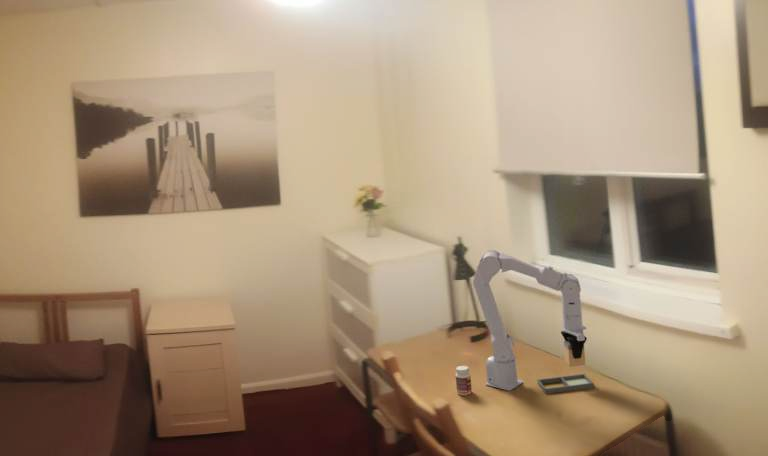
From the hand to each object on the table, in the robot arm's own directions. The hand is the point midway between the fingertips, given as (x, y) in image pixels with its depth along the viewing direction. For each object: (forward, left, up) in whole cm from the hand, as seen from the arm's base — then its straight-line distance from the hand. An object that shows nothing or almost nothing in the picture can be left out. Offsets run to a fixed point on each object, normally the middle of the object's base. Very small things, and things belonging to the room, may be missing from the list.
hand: (574, 355), depth 203 cm
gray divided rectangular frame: (-3, -3, -10) cm, 10 cm away
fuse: (0, 0, -3) cm, 3 cm away
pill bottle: (-27, -23, -10) cm, 37 cm away
